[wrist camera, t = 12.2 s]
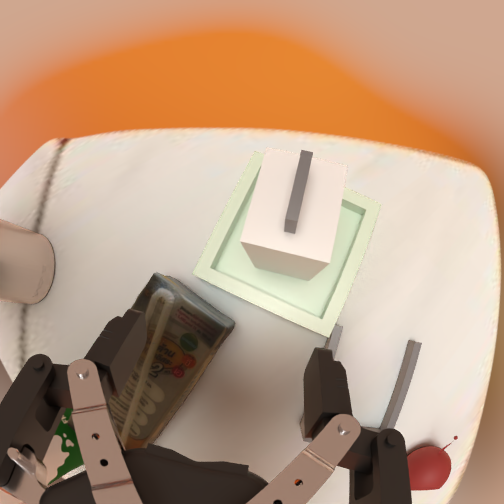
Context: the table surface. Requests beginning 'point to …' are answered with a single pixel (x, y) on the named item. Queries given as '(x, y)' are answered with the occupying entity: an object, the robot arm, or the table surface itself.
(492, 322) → the table surface
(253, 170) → the tray
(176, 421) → the table surface
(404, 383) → the bay
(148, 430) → the beverage carton
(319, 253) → the white tall block
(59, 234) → the table surface
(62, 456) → the milk carton
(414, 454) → the fruit
